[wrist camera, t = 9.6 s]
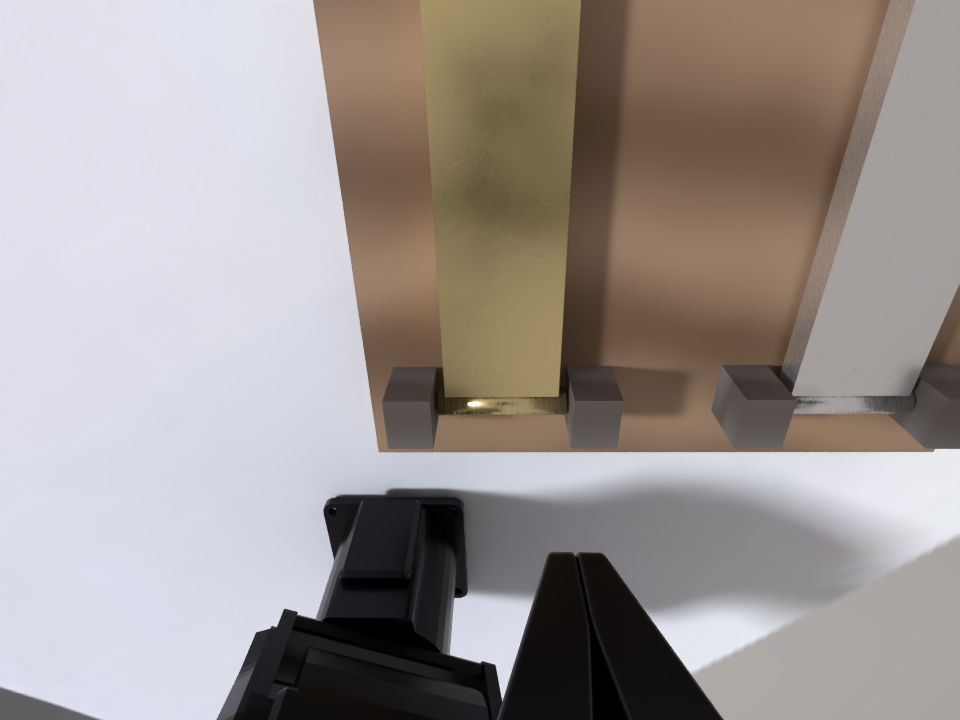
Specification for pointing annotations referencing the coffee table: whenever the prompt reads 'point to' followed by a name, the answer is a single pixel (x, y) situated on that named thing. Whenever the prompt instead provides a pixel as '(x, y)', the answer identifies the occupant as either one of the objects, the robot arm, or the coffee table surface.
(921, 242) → the steel strap
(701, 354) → the board
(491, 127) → the brass strap
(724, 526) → the coffee table surface
